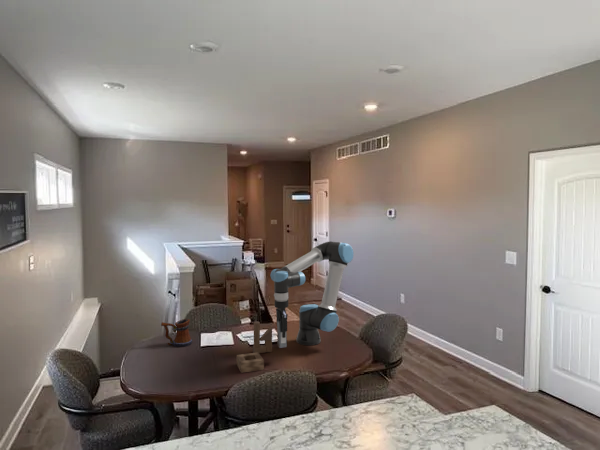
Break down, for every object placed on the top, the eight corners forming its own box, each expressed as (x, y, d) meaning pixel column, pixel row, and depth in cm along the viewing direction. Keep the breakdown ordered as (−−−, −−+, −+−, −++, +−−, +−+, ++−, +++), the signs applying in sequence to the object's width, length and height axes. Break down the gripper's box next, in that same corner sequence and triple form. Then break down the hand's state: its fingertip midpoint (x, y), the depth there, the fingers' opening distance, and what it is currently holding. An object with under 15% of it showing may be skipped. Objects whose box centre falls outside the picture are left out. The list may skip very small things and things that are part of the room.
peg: (284, 344, 236) (284, 319, 235) (286, 346, 232) (286, 322, 231) (277, 345, 234) (277, 320, 233) (279, 348, 231) (279, 322, 230)
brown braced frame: (272, 351, 247) (272, 321, 246) (254, 354, 244) (254, 323, 242) (270, 349, 251) (270, 319, 250) (252, 352, 247) (252, 321, 246)
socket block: (258, 361, 233) (258, 352, 233) (263, 369, 222) (263, 360, 221) (236, 364, 229) (236, 355, 228) (241, 372, 218) (241, 363, 217)
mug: (161, 349, 250) (161, 324, 249) (161, 342, 261) (161, 318, 260) (192, 346, 256) (192, 321, 255) (191, 340, 267) (191, 316, 266)
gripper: (270, 296, 238) (271, 337, 240) (279, 304, 222) (280, 347, 224) (283, 295, 240) (283, 335, 242) (293, 302, 224) (293, 345, 226)
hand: (282, 341), depth 233 cm, fingers closed on peg, 4 cm apart
